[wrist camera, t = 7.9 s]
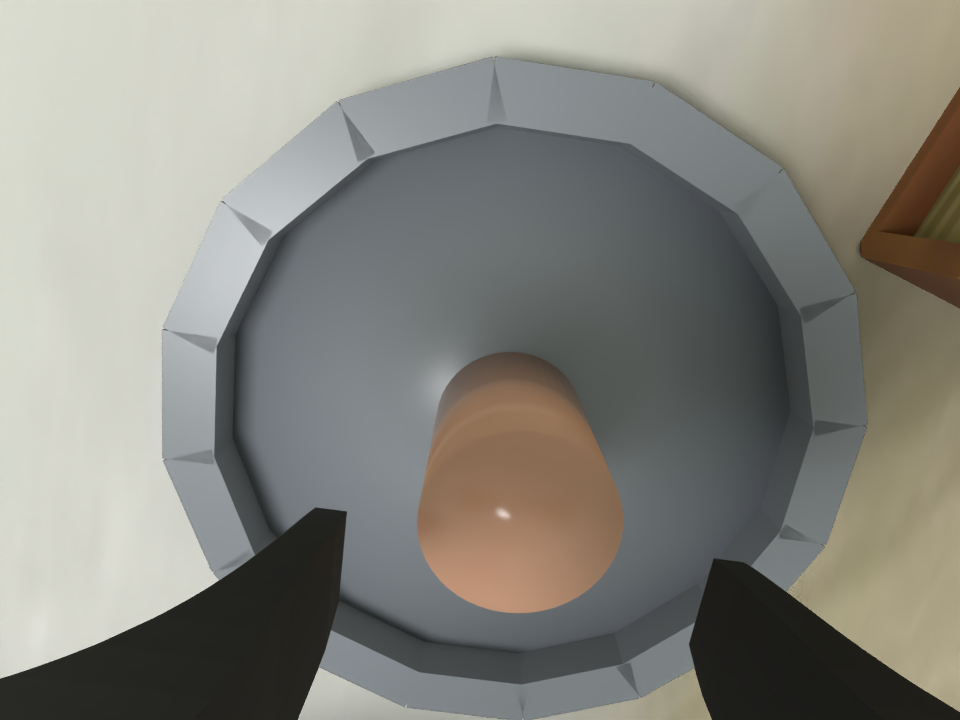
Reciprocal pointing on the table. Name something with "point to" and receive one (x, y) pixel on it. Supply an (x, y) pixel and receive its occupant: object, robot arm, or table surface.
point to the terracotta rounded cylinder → (516, 489)
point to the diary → (924, 215)
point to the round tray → (524, 329)
